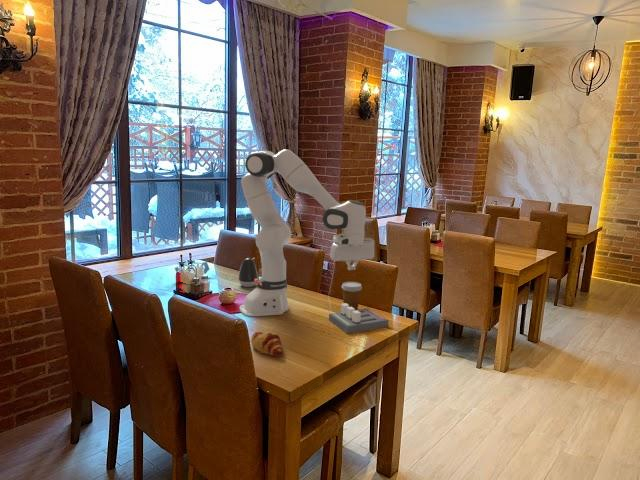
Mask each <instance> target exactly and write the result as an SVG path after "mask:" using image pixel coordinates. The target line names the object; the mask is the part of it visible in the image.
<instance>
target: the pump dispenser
mask: <svg viewBox="0 0 640 480" xmlns="http://www.w3.org/2000/svg"><path fill="white" fill-rule="evenodd" d="M255 260H256V258H255V257H253V258H250V257H246V258H244V259H243V261H242V262H241V265H240V268H239V272H238V281H239V283H240V285H241V286H242V287H244V288H251V287H255V285H257V284H256V283H255V282H254V281H255V279H258V280H259V275H258V270H257V269H258V268H257V266H256V264H255Z"/></svg>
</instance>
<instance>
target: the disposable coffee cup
mask: <svg viewBox="0 0 640 480" xmlns="http://www.w3.org/2000/svg"><path fill="white" fill-rule="evenodd" d="M341 289H342V298H343V300H342V301H343V302H342V303H347V304H348V305H349V307H353V308H354V309H355V310H358V309H359V303H360V297H361V293H362V292H361V291H362V289H363V286H362V284H361V283H360V282H356V281H346V282H342V285H341Z"/></svg>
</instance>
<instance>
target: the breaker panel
mask: <svg viewBox="0 0 640 480" xmlns="http://www.w3.org/2000/svg"><path fill="white" fill-rule="evenodd" d="M355 311H359V312H361V319H360V322H356V323H355V322H354V321H352V318H350V319H349V318H348V317H347V316H346V314H345V315H344V314H342V313H341V311H339V312H337V311H336V312H331V313H329V314H328V321H329V322H331V323H332V324H333V325H335V326H336V327H337V328H339V329H340V330H341V331H342V332H344V333H345V334H352V333H357V332H358V333H359V332H363V331H370V330H376V329H383V328H388V327H389V318H386V317H385V316H383V315H381V314H380V313H378V312H376V311H374V310H373V309H371V308H369V307H366V308H365V307H364V308H358V310H355Z"/></svg>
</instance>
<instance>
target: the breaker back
mask: <svg viewBox="0 0 640 480" xmlns="http://www.w3.org/2000/svg"><path fill="white" fill-rule="evenodd" d="M347 307H349V305H348V304H347V303H344V302H342V303H340V312H341V313H342V314H344V315H345V314H346V311H347Z"/></svg>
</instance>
